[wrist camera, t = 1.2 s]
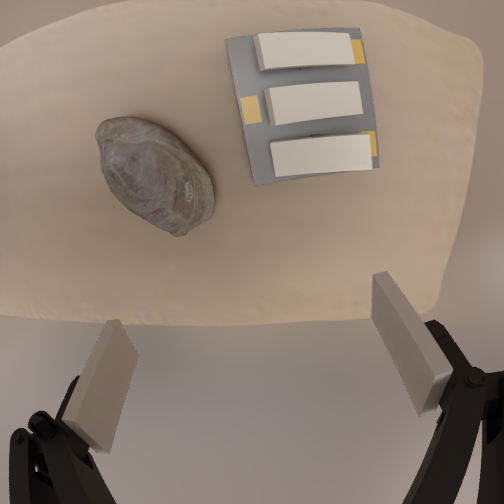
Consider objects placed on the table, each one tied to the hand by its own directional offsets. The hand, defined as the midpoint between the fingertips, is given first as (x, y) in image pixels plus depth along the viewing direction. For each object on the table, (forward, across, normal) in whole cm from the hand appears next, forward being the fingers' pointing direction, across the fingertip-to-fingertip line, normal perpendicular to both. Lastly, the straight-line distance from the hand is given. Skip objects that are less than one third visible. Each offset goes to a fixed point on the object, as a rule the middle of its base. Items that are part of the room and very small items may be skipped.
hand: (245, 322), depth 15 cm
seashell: (+25, -9, +4) cm, 27 cm away
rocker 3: (+19, +9, +4) cm, 22 cm away
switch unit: (+25, +9, +9) cm, 28 cm away
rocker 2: (+19, +9, +9) cm, 23 cm away
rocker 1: (+19, +9, +15) cm, 26 cm away
